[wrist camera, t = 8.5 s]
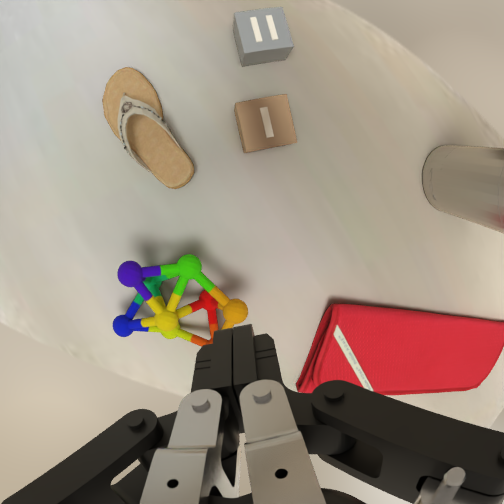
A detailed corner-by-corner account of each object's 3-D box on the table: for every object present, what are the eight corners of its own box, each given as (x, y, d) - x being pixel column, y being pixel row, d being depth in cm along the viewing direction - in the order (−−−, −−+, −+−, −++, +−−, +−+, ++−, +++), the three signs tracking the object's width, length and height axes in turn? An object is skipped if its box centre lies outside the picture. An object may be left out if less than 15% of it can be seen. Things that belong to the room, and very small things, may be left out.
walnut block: (278, 102, 33) (286, 93, 28) (287, 144, 34) (297, 142, 29) (234, 110, 33) (235, 102, 28) (243, 153, 34) (246, 152, 29)
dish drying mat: (471, 385, 50) (480, 395, 47) (293, 386, 45) (298, 402, 41) (505, 319, 46) (517, 327, 42) (327, 292, 40) (336, 305, 37)
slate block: (275, 24, 30) (282, 6, 25) (285, 60, 31) (294, 45, 26) (232, 30, 30) (234, 12, 25) (241, 66, 31) (244, 52, 26)
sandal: (133, 63, 30) (121, 51, 25) (214, 161, 34) (212, 161, 30) (91, 101, 31) (73, 94, 26) (168, 198, 35) (160, 205, 30)
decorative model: (212, 377, 38) (93, 348, 31) (206, 325, 44) (104, 294, 38) (270, 313, 32) (124, 265, 25) (254, 259, 39) (136, 213, 32)
